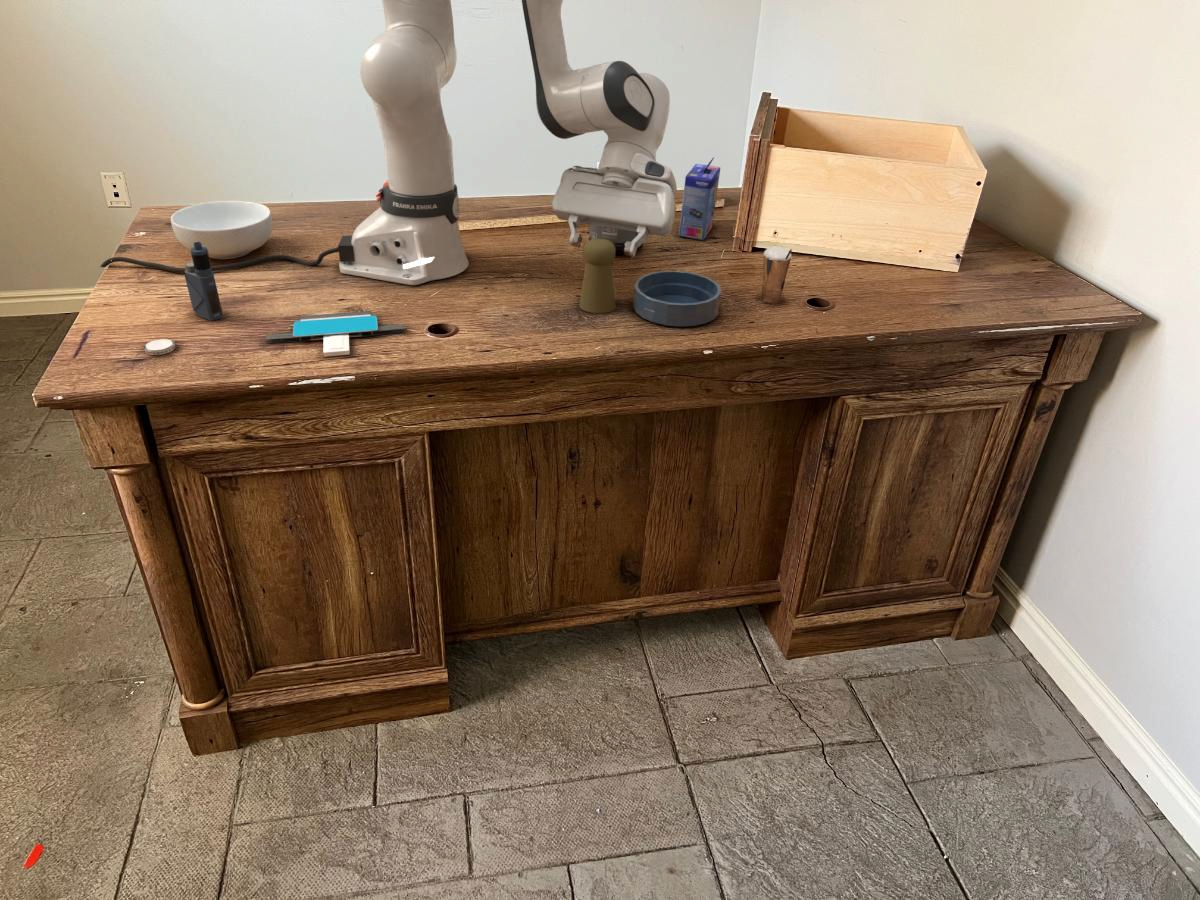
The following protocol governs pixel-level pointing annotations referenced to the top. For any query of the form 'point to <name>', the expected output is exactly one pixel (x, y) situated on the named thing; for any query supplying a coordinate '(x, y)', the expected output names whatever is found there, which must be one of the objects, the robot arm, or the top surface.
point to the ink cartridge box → (699, 201)
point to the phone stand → (335, 330)
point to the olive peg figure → (598, 277)
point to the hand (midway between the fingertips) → (601, 249)
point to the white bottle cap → (159, 346)
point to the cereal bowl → (223, 227)
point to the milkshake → (774, 273)
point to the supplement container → (613, 237)
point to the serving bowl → (676, 298)
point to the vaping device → (202, 284)
